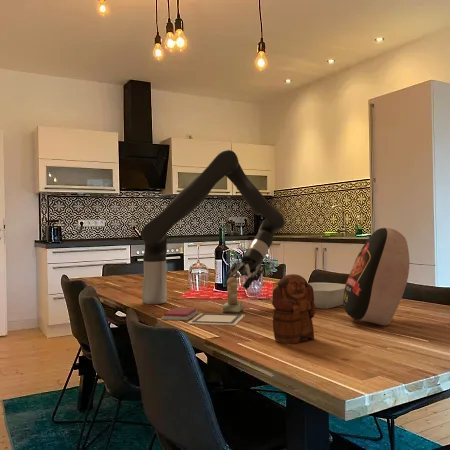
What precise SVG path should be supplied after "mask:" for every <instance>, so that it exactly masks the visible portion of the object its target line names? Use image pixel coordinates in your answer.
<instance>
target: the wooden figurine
mask: <svg viewBox="0 0 450 450" xmlns="http://www.w3.org/2000/svg"><path fill="white" fill-rule="evenodd" d="M308 283H309V282H308V281H307V280H306V279H305V277H303V276H302V275H299V274H296V273H295V274H293V273H291V274H286V275H284V276H283V277H281V279H280V280H279V281H278V282H277V286H275V287H274V289H273V290H272V301H271V303H272V306H273V308H274V310H273V314H272V316H273V317H272V328H273V331H272V332H273V337H274V340H275V342H276V343H280V344H281V343H282V344H287V345H288V344H290V345H291V344H293V345H294V344H296V345H297V344H299V343H304V342H309V340H315V333H314V332H315V329H314V324H313V319H314V317H315V314H316V308H315V304H314V292H313V287H312V286H311V285H309V284H308Z"/></svg>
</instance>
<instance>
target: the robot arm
mask: <svg viewBox="0 0 450 450" xmlns="http://www.w3.org/2000/svg"><path fill="white" fill-rule="evenodd" d="M224 177H226V178H227V179H228V180H229V181H230V182H231V183H232V184H233V186H235V187H236V189H237V190H238V191H239V193H240V195H241V196H242V198H243V199H244V201H245V203H246V204H247V205H248V207H249V208H250V209H251V211H252V212H253V213H254V214H255V215H257V216H261V215H262V216H263V217H264V220H263V221H262V222H261V224H260V226H259V229H258V231H257V234H256V235H255V236H254V238H253V240H252V241H251V242H250V243H249V245H248V247H247V248H246V250H245V252H244V254H243V255H242V257H241V262H240V263H239V264H237V263H236V262H233V263H232V265H231V266H230V268H229V270H228V271H227V272H226V275H227V276H228V278H227V280H228V279H229V278H230V277H234V278H236V279H237V278H241V277H242V276H243V277H244V276H246V279H245V281H244V283H243V284H242V287H243V288H244V290H248V288H250V287H251V285H252V283H253V282H254V281H256V282H258V281H259V280H260V277H261V276H262V273H263V272H264V268H263V266H262V262H263V261H264V259H265V257H266V255H267V254H268V251H269V250H270V247H271V246H272V243H273V241H274V236H275V235H276V233H277V232H279V231H280V230H282V229H283V227H284V226H285V223H286V221H285V218H284V216H283V215H282V213H281V212H280V211H279V210H277V209H276V208H275V207H274V206H273V205H272V204H270V203H269V202H268V201H267V199H266V198H265V196H264V195H263V194H262V193H261V191H260V190H259V189H258V188H257V187H256V185H255V184H253V182H252V181H251V180H250V179H249V177H248V176H247V175H246V173H245V171H244V170H243V168H242V166H241V165H240V162H239V157H238V156H237V154H236V153H235V152H234V151H233V150H230V149H223V150H221V151H220V152H218V153H217V154H216V156H215V157H214V158H213V159H212V161H211V162H210V163H209V164H208V165H207V167H206V168H205V169H204V170H203V171H202V172H201V173H199V174H198V175H197V176H196V177H194V179H193V180H191V181H190V182H189V183H188V184H187V185H186V186H185V187H184V188H182V190H181V191H179V193H177V195H175V197H174V198H173V199H172V200H171V201H170V202H169V203H168V205H167V206H166V207H165V208H164V209H163V210H161V212H160V213H159V214H158V215H156V216H155V217H154V218H153V219H151V220H150V221H149V222H148V223H146V224H145V225H144V226H143V227H142V230H141V239H142V241H143V242H144V253H143V256H142V257H143V279H142V280H141V294H142V295H141V301H142V302H141V303H142V304H148V305H159V304H165V303H167V300H168V299H167V251H168V249H167V248H168V247H167V244H168V243H167V240H168V238H167V237H168V235H167V234H168V232H169V231H170V230H171V229H172V228H173V227H174V226H175V225H176V224H177V223H179V222H180V221H181V220H183V219H184V218H185V217H187V216H188V215H189V214H191V213H192V212H194V211H195V209H197V207H199V206H200V205H201V204H202V203H203V202H204V201H205V199H207V197H208V196H209V194H210V193H211V191H212V190H213V188H214V187H215V185H216V184H217V183H219V182H220V180H222V179H223V178H224ZM225 285H226V286H227V281H226V282H225Z"/></svg>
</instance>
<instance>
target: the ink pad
mask: <svg viewBox="0 0 450 450" xmlns="http://www.w3.org/2000/svg"><path fill="white" fill-rule="evenodd" d="M198 315H199V310H198V309H197V308H196V307H174V308H172V309H169V310H167V311H166V312H164V313H163V315H162V317H161V320H163V321H164V320H165V321H190V319H191V320H192V319H193V317H194V318H195V317H196V316H198Z"/></svg>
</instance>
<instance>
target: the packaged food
mask: <svg viewBox="0 0 450 450" xmlns="http://www.w3.org/2000/svg"><path fill="white" fill-rule="evenodd" d="M409 273H410V252H409V245H408V240H407V238H406V237H405V236H404V235H403V234H402V233H401V232H399V231H398V230H396V229H394V228H390V227H382V228H378V229H376V230H375V231H374V232H373V233H371V235H370V236H369V237H368V238H367V240H366V241H365V243H364V244H363V246H362V247H361V249H360V251H359V252H358V255H357V257H356V258H355V261H354V263H353V265H352V268H351V270H350V273H349V274H348V277H347V280H346V282H345V284H346V286H345V290H344V296H343V310H344V312H345V313H346V314H347V315H348V316H349V317H350V318H351V319H354V320H356V321H358V322H359V321H361V322H367V323H371V324H374V325H378V326H379V325H380V326H387V325H388V324H390V322H391V321H392V319H393V318H394V316H395V315H396V311H397V310H398V308H399V306H400V302H401V300H402V298H403V295H404V293H405V289H406V286H407V283H408V279H409Z"/></svg>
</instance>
